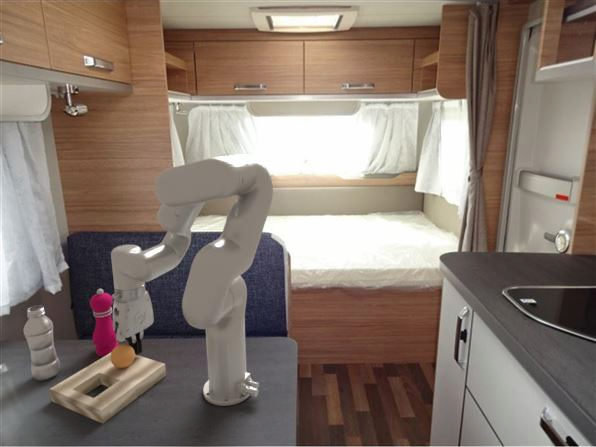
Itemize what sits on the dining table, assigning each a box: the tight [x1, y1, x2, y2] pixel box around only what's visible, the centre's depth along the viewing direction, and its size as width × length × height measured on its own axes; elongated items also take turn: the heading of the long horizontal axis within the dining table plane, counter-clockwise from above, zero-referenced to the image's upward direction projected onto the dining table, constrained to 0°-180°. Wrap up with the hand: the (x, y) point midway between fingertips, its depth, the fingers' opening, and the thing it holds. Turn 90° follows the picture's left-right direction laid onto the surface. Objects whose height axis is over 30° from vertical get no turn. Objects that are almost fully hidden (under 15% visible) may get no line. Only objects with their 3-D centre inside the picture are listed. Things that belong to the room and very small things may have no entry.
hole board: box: [49, 353, 167, 424], centre depth 102 cm, size 18×20×4 cm
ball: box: [110, 343, 135, 368], centre depth 105 cm, size 6×6×6 cm
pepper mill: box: [89, 288, 120, 357], centre depth 118 cm, size 7×7×20 cm
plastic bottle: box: [23, 304, 61, 381], centre depth 105 cm, size 6×7×20 cm
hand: (136, 352), depth 110 cm, fingers closed
